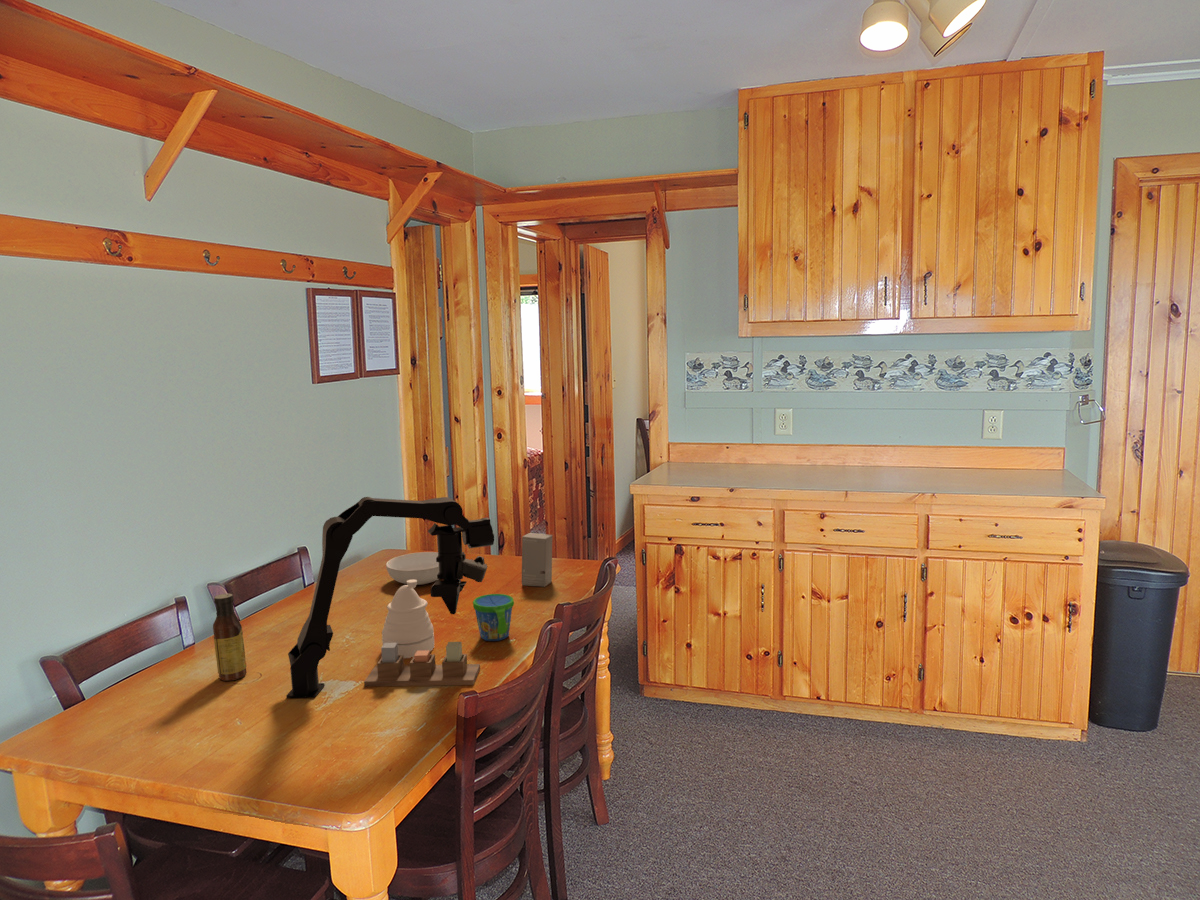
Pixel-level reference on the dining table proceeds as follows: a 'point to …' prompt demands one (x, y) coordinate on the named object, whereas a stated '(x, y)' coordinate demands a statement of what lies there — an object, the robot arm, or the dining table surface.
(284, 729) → the dining table surface
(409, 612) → the honey pot
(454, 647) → the beige rectangular block
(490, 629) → the snack cup
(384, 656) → the grey chamfered block
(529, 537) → the skincare box
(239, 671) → the sauce bottle
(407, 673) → the brown block rack
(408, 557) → the serving bowl
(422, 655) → the orange rectangular block
